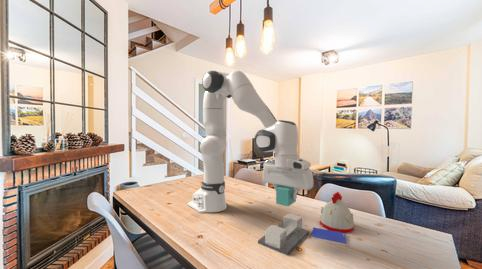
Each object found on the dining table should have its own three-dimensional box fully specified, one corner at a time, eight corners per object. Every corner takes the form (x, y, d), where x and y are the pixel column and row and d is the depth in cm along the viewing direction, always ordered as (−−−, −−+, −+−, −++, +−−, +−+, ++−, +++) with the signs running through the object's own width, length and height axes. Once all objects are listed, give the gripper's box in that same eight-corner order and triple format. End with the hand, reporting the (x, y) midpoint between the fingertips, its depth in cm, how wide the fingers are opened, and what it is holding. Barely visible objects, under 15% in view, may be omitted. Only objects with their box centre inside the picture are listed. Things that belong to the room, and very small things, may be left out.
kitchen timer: (313, 224, 94) (314, 191, 93) (328, 216, 103) (329, 186, 102) (345, 236, 83) (346, 199, 83) (359, 226, 92) (360, 193, 92)
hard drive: (345, 232, 84) (313, 226, 89) (346, 242, 77) (311, 235, 82) (345, 236, 84) (313, 230, 89) (346, 246, 77) (311, 239, 82)
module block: (276, 203, 80) (276, 188, 80) (284, 198, 85) (284, 184, 85) (288, 206, 77) (288, 190, 76) (295, 201, 82) (295, 186, 82)
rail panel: (257, 243, 77) (258, 227, 77) (282, 224, 93) (282, 211, 93) (287, 255, 70) (287, 237, 70) (308, 233, 85) (309, 218, 85)
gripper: (259, 160, 84) (259, 194, 85) (308, 165, 72) (308, 205, 72) (267, 158, 89) (267, 190, 90) (315, 163, 77) (314, 200, 77)
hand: (286, 197), depth 81 cm, fingers closed on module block, 5 cm apart
